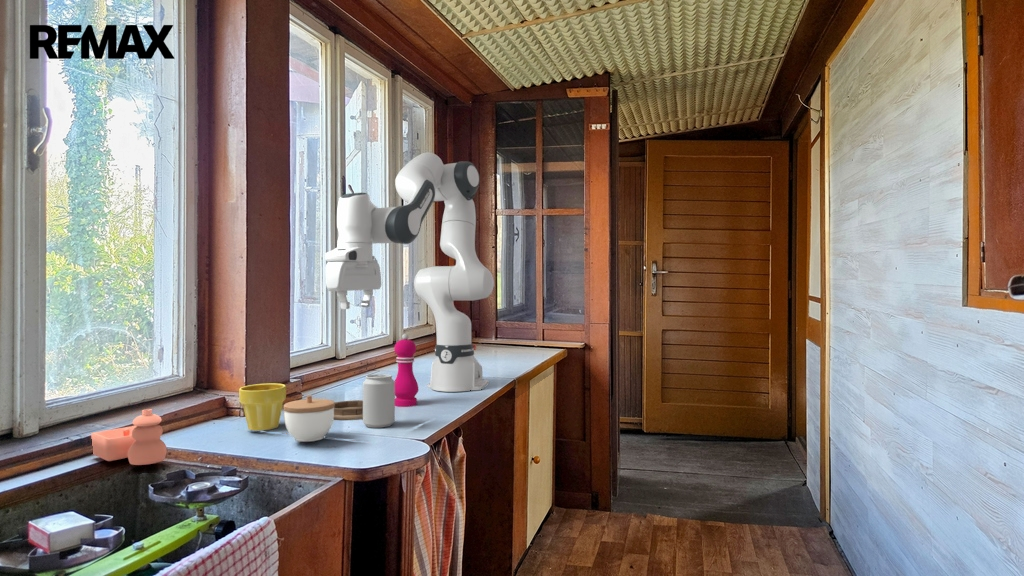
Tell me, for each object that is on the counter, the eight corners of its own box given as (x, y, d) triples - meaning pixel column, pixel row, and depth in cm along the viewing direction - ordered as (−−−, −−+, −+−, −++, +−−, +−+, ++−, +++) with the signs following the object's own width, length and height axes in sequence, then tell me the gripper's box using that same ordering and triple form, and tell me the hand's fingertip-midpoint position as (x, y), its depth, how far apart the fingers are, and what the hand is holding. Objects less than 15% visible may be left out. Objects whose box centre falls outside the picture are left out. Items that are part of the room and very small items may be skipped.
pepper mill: (416, 407, 174) (415, 334, 174) (389, 407, 174) (389, 334, 174) (420, 402, 181) (420, 332, 181) (395, 402, 181) (395, 332, 181)
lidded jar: (283, 435, 142) (283, 393, 142) (332, 431, 146) (332, 390, 146) (284, 446, 132) (283, 401, 132) (336, 441, 136) (336, 398, 136)
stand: (344, 407, 173) (344, 398, 173) (388, 411, 169) (388, 401, 169) (311, 417, 160) (311, 408, 160) (359, 421, 156) (359, 411, 156)
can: (356, 426, 150) (356, 376, 150) (375, 420, 157) (375, 372, 157) (382, 429, 147) (382, 377, 147) (400, 423, 153) (401, 374, 154)
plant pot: (236, 434, 143) (235, 391, 143) (242, 424, 153) (242, 384, 153) (284, 431, 146) (284, 388, 146) (287, 422, 156) (287, 382, 156)
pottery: (91, 453, 128) (91, 405, 128) (142, 444, 135) (141, 398, 135) (126, 469, 116) (126, 416, 116) (180, 458, 124) (179, 408, 124)
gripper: (366, 256, 175) (367, 306, 175) (320, 253, 155) (321, 310, 156) (386, 255, 173) (387, 306, 173) (342, 253, 153) (343, 310, 154)
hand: (355, 308), depth 164 cm, fingers open, 8 cm apart
